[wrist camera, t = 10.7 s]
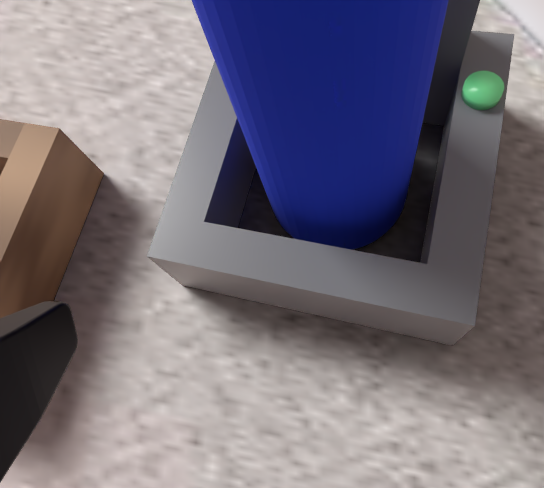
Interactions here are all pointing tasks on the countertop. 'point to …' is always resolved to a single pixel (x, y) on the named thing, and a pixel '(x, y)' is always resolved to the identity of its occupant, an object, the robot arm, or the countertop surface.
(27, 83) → the countertop surface
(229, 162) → the port socket
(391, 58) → the beverage can
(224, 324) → the countertop surface
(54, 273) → the wooden tray
